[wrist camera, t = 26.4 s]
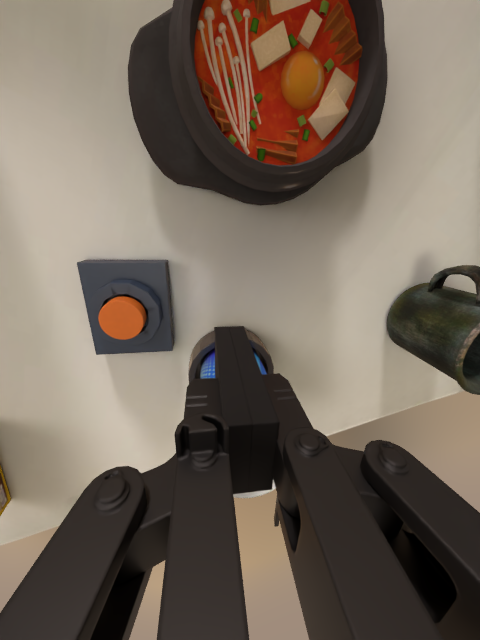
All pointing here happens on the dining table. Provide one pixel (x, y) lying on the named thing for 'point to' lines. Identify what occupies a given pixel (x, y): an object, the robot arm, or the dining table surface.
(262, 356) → the dock
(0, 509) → the candy box
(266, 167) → the casserole
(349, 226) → the dining table surface
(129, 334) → the button
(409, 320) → the mug
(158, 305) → the button base
